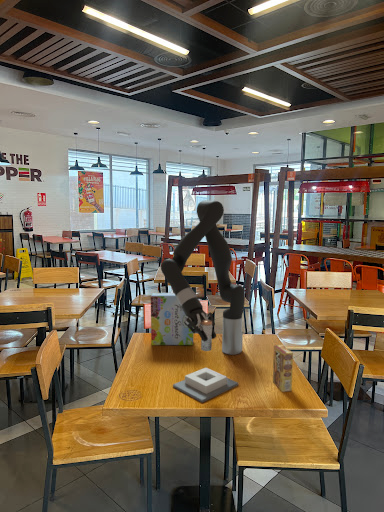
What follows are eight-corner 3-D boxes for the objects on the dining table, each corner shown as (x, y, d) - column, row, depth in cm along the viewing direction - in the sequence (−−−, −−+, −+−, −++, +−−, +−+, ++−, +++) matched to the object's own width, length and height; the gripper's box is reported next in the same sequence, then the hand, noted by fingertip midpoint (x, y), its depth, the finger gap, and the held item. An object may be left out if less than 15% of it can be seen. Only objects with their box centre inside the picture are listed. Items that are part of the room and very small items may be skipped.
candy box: (292, 391, 141) (294, 352, 139) (281, 392, 140) (283, 353, 138) (281, 380, 150) (283, 344, 148) (271, 381, 149) (273, 345, 147)
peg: (206, 346, 146) (206, 319, 144) (213, 349, 143) (214, 321, 141) (198, 348, 143) (199, 321, 141) (206, 351, 140) (206, 323, 139)
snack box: (193, 340, 196) (194, 292, 192) (193, 346, 187) (194, 296, 184) (152, 339, 196) (152, 291, 193) (150, 345, 187) (150, 295, 184)
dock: (209, 372, 157) (209, 363, 157) (238, 385, 146) (238, 375, 145) (173, 386, 143) (173, 377, 143) (202, 402, 132) (202, 392, 131)
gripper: (180, 299, 141) (202, 338, 134) (206, 294, 151) (228, 330, 143) (171, 310, 145) (191, 348, 138) (197, 304, 155) (217, 339, 148)
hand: (210, 338), depth 141 cm, fingers closed on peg, 4 cm apart
